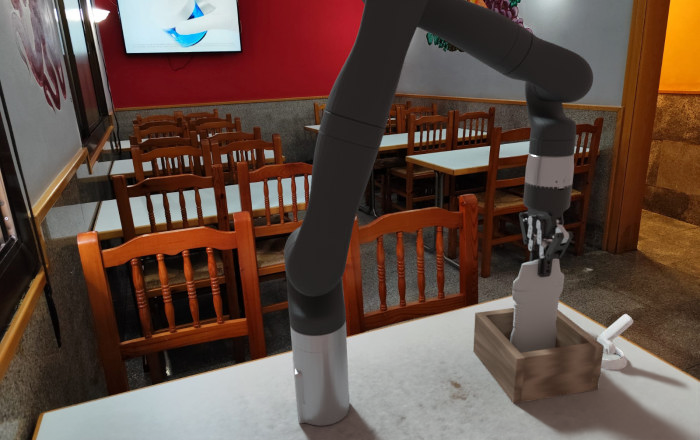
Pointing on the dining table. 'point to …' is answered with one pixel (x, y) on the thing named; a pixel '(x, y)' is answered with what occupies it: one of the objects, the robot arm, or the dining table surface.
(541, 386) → the open wooden box
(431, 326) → the dining table surface
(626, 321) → the white vr controller
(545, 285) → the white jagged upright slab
